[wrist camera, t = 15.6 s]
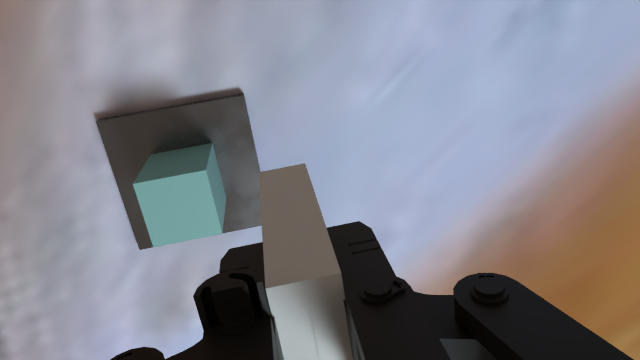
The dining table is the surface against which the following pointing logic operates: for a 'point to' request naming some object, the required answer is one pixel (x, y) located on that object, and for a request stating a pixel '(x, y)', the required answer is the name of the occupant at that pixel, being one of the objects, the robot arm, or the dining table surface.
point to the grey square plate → (182, 132)
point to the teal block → (181, 195)
